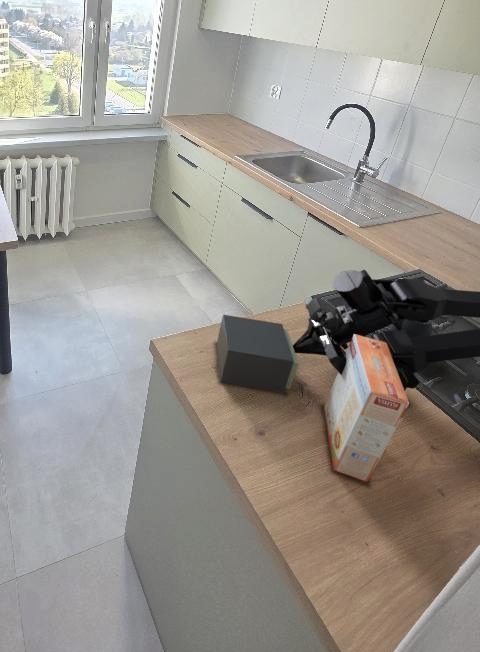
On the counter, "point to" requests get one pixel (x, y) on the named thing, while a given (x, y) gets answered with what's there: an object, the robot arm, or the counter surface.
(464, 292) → the robot arm
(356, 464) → the cracker box
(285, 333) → the drawer
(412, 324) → the mug
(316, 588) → the counter surface
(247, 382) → the cabinet
